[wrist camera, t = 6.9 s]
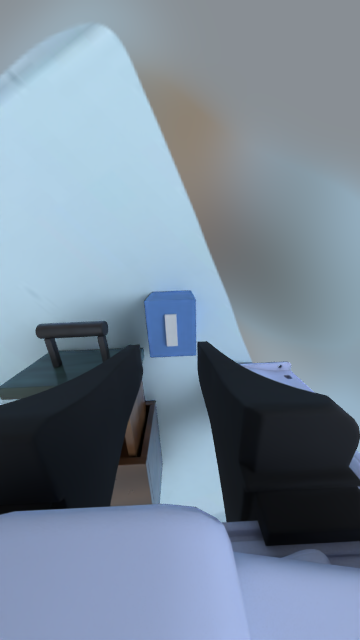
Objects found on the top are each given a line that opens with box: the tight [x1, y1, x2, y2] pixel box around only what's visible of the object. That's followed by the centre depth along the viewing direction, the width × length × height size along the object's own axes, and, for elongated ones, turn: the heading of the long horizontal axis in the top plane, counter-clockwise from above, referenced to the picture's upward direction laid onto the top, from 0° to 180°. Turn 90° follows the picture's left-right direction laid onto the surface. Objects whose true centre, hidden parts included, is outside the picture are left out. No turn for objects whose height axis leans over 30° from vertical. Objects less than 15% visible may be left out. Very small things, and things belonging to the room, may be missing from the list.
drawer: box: [0, 321, 147, 458], centre depth 18 cm, size 17×11×6 cm, turn 2°
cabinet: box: [110, 401, 163, 507], centre depth 22 cm, size 13×12×8 cm
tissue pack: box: [144, 291, 196, 357], centre depth 17 cm, size 4×6×5 cm
